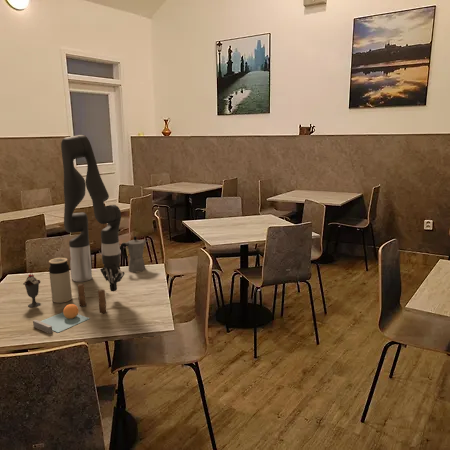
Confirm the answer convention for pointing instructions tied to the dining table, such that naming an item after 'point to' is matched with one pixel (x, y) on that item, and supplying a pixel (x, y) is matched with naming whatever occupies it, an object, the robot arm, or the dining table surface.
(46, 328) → the wall
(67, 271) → the travel mug
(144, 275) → the dining table surface
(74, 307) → the ball
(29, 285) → the sundae
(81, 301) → the post inner
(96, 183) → the robot arm
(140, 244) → the coffeepot
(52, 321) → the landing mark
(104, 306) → the post outer
